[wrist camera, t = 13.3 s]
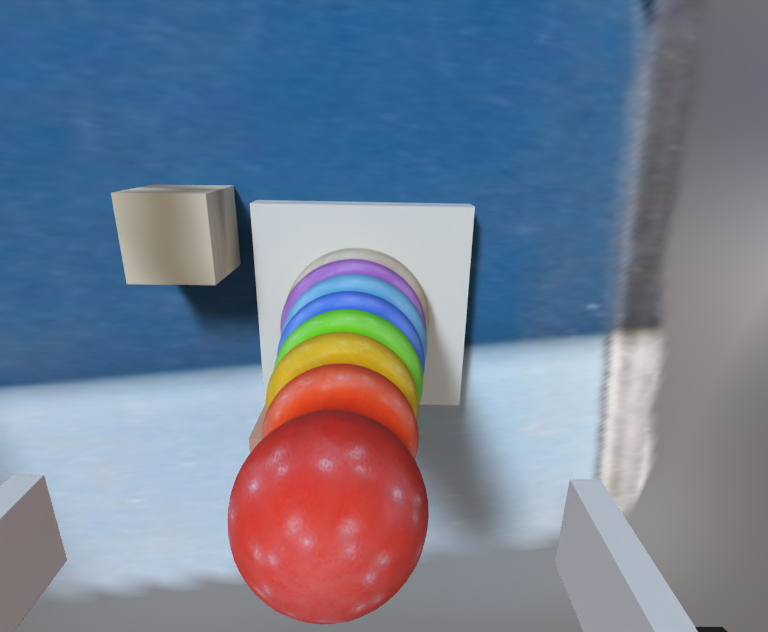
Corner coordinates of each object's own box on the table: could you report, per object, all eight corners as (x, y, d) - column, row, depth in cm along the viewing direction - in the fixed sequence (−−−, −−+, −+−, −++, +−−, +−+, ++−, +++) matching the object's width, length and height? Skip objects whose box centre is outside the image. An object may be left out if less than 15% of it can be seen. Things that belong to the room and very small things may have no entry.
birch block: (165, 262, 29) (126, 284, 25) (154, 184, 27) (110, 192, 23) (241, 264, 29) (215, 285, 25) (234, 185, 27) (205, 193, 23)
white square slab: (270, 389, 32) (264, 401, 30) (257, 200, 27) (249, 203, 26) (456, 393, 31) (459, 405, 30) (470, 203, 27) (474, 207, 26)
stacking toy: (412, 384, 30) (444, 746, 12) (281, 362, 29) (115, 701, 12) (441, 258, 27) (537, 485, 9) (297, 232, 27) (112, 415, 9)
